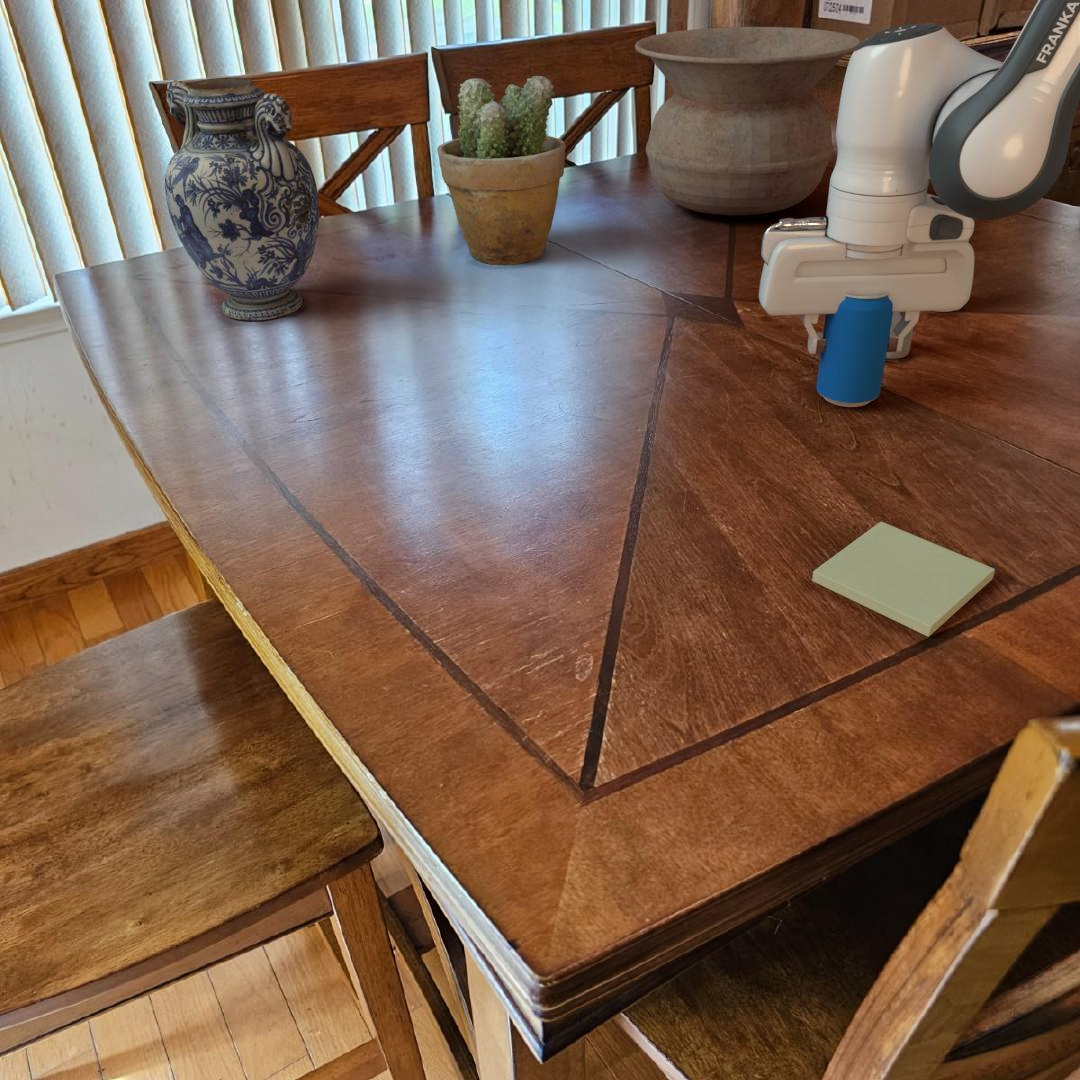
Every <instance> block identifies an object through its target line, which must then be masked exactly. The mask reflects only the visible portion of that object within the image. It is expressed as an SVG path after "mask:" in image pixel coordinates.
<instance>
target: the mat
mask: <svg viewBox="0 0 1080 1080" xmlns="http://www.w3.org/2000/svg"><path fill="white" fill-rule="evenodd" d="M995 573H996V568H994V567H991V566H990V565H986V564H985V563H982V562H980V561H977V560H975V559H972V558H970V557H967V556H966V555H963V554H961V553H958V552H956V551H953V550H951V549H948V548H946V547H943V546H941V545H939V544H936V543H934V542H931V541H930V540H926V539H925V538H923V537H919V536H918V535H915V534H913V533H910V532H908V531H905V530H903V529H900V528H899V527H896V526H894V525H891V524H888V523H886V522H883V521H879V522H878V523H876V524H875V525H873V526H872V527H870V528H869V530H867V531H865V532H864V533H863V534H861V535H860V536H859V537H858V538H856V539H855V540H853V541H852V542H850V543H849V544H848V545H846V546H845V547H844V548H843V549H841V550H840V551H839V552H837V553H836V554H834V555H833V556H832V557H830V558H828V560H826V561H825V562H824V563H822V564H821V565H820V566H818V567H816V568H815V569H813V571H812V577H811V578H812V579H811V581H812V582H813V583H816V584H818V585H820V586H822V587H824V588H826V589H827V590H830V591H832V592H834V593H836V594H838V595H840V596H843V597H844V598H847V599H848V600H851V601H853V602H855V603H857V604H859V605H861V606H863V607H865V608H867V609H869V610H871V611H873V612H875V613H877V614H880V615H882V616H884V617H886V618H888V619H890V620H892V621H893V622H894V621H895V622H897V623H898V624H901V625H902V626H905V627H907V628H909V629H911V630H912V631H915V632H917V633H919V634H922V635H924V636H925V637H927V638H929V637H930V636H931V635H932V634H934V633H935V632H936V631H937V630H938V629H939V628H940V627H941V626H943V625H944V624H945V623H946V622H947V621H948V620H949V619H950V618H951V617H953V615H954V614H956V613H957V612H958V611H959V610H960V609H961V608H962V607H964V605H966V604H967V603H968V602H969V601H970V600H971V599H972V598H973V597H974V596H976V595H977V594H978V593H979V592H980V591H981V590H982V589H984V588H985V587H986V586H987V585H988V584H989V583H990V582H991V581H992V580H993V579H994V575H995Z"/></svg>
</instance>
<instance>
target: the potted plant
mask: <svg viewBox="0 0 1080 1080" xmlns="http://www.w3.org/2000/svg"><path fill="white" fill-rule="evenodd" d="M459 85H460V87H459V93H458V95H457V98H458V104H459V105H457V106H456V107H457V109H458V110H459V111H458V116H457V118H458V119H459V122H460V123H459V124H460V125H459V126H458V128H459V129H458V130H457V135H458V137H459V138H454V139H451V140H448V141H445V142H443V143H442V144H440V145H438V147H437V149H436V151H437V154H438V161H439V167H440V172H441V173H440V174H441V177H442V180H443V182H444V184H445V185H446V186H447V188H448V191H449V195H450V199H451V201H452V205H453V208H454V212H455V217H456V219H457V222H458V225H459V227H460V229H461V231H462V234H463V238H464V240H465V243H466V245H467V248H468V252H469V254H470V255H471V257H472V258H473V259H474V260H475V261H477V262H480V263H483V264H487V265H498V266H500V265H501V266H502V265H503V266H504V265H505V266H508V265H520V264H524V263H529V262H533V261H535V260H537V259H539V258H540V257H541V256H542V255H543V254H544V252H545V250H546V247H547V243H548V239H549V235H550V232H551V229H552V225H553V221H554V216H555V212H556V207H557V202H558V201H557V200H558V195H559V188H560V179H561V178H562V177H564V173H565V162H566V146H567V145H566V143H565V141H564V140H562V139H561V138H558V137H555V136H550V135H548V134H547V131H546V129H547V128H548V125H547V121H548V120H549V118H548V116H549V115H550V108H551V107H552V106H553V99H552V98H553V97H554V96H555V94H556V92H554V91H553V89H554V88H555V86H554V85H553V84H552V81H551V79H549V78H547V77H545V76H542V75H533V76H532V77H531V78H529V77H528V78H527V79H526V83H525V84H524V85H523V87H521V86H518V85H516V84H509V85H508V86H507V87H506V89H505V90H504V93H505V95H504V96H502V98H500V100H498V102H497V101H495V100H494V99H495V93H493V92H492V89H491V88H492V85H490V83H489V82H487V81H486V80H485V79H484V78H469V79H467V80H465V81H464V82H463V83H460V84H459Z"/></svg>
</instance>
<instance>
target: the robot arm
mask: <svg viewBox="0 0 1080 1080" xmlns="http://www.w3.org/2000/svg"><path fill="white" fill-rule="evenodd" d="M1079 103H1080V0H1037V2H1036V3H1035V5H1034V7H1033V9H1032V11H1031V12H1030V14H1029V15H1028V18H1027V20H1026V21H1025V23H1024V25H1023V28H1022V29H1021V31H1020V33H1019V35H1018V37H1017V38H1016V40H1015V41H1014V44H1013V45H1012V48H1011V49H1010V50H1009V52H1008V55H1006V57H1005V60H1004V61H1003V62H1002V61H1000V60H997V59H994V58H991V57H989V56H987V55H984V54H982V53H980V52H978V51H976V50H975V49H972V48H971V47H970V46H967V45H966V44H965V43H963V42H961V41H960V40H958V39H957V38H956V37H954V36H953V35H952V34H951V33H950V32H949V31H948V30H947V29H946V27H945V26H944V25H943V24H939V23H935V22H919V23H917V22H916V23H909V24H903V25H898V26H894V27H889V28H886V29H883V30H881V31H877V32H874V33H872V34H871V35H869V36H868V37H866V38H865V39H864V40H862V41H861V44H860V45H859V46H858V47H857V48H856V49H855V51H854V52H852V53H851V56H850V58H849V61H848V64H847V67H846V71H845V75H844V78H843V84H842V88H841V93H840V100H839V106H838V113H837V119H836V120H837V121H836V126H835V127H836V128H835V140H836V146H837V156H836V162H835V165H834V167H833V171H832V172H831V174H830V175H831V176H830V179H829V187H828V195H827V206H826V212H825V213H826V214H825V216H813V217H804V218H793V217H787V218H786V217H785V218H781V219H779V220H778V222H776V223H774V224H771V225H770V226H769V227H768V228H767V229H766V230H765V231H764V233H763V235H762V239H761V248H760V249H761V250H760V253H761V255H760V256H761V259H762V261H763V267H762V272H761V276H760V281H759V282H760V283H759V289H758V300H759V301H758V302H759V303H760V306H761V307H762V309H763V310H764V311H765V312H766V313H767V315H769V316H771V317H772V316H773V317H774V316H777V317H779V316H799V318H800V320H801V323H802V324H803V326H804V328H805V330H806V332H807V334H808V339H807V352H808V353H809V355H821V354H824V353H825V350H826V349H825V346H826V342H827V339H826V338H825V336H824V334H823V332H816V330H815V328H814V326H813V325H817V324H818V323H819V317H820V315H826V314H836V312H837V310H838V307H839V305H840V303H841V302H842V301H843V300H845V298H846V296H845V294H849V295H854V296H869V295H884V294H887V293H890V294H889V295H888V298H889V299H890V300H891V301H892V303H893V312H899V313H900V315H901V316H902V318H901V319H900V321H899V322H898V324H897V325H896V326H895V328H894V329H893V330H890V335H889V341H888V347H887V352H901V350H902V345H903V339H904V337H905V336H906V335H907V334H908V333H909V331H910V330H911V329H912V328H913V327H914V328H915V326H916V325H917V323H918V322H919V318H920V314H921V312H936V311H947V310H954V311H959V310H961V309H962V308H963V307H964V306H965V305H966V304H967V303H968V302H969V300H970V299H971V298H970V297H971V294H972V288H973V282H974V276H975V275H974V273H975V251H974V248H973V246H972V245H971V243H970V241H967V239H969V238H970V239H971V237H972V235H973V233H974V230H975V225H976V224H975V220H983V221H985V220H986V221H987V220H988V221H989V220H990V221H991V220H999V219H1004V218H1008V217H1012V216H1014V215H1017V214H1019V213H1022V212H1024V211H1025V210H1027V209H1029V208H1030V207H1032V206H1034V205H1035V204H1037V203H1038V202H1039V201H1040V200H1041V199H1042V198H1044V197H1045V196H1046V195H1047V193H1048V192H1050V190H1051V189H1052V187H1054V185H1055V183H1056V182H1057V181H1058V179H1059V177H1060V175H1061V174H1062V171H1063V168H1064V166H1065V163H1066V160H1067V156H1068V152H1069V147H1070V142H1071V137H1072V130H1073V124H1074V119H1075V116H1076V112H1077V110H1078V106H1079ZM930 183H931V186H932V188H933V190H934V193H935V194H936V195H933V194H931V193H928V188H929V184H930ZM974 219H975V220H974ZM777 228H778V229H777ZM970 239H969V240H970Z"/></svg>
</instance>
